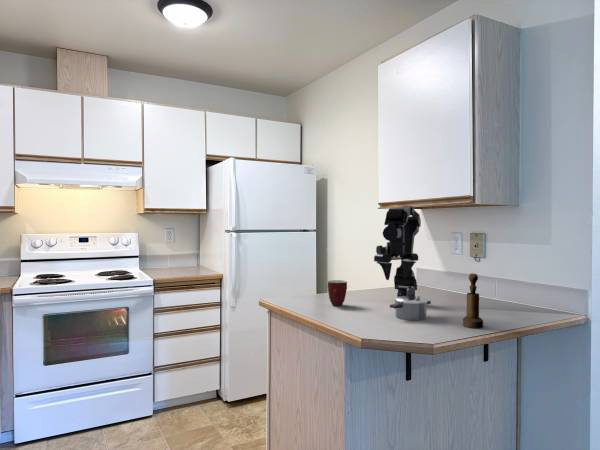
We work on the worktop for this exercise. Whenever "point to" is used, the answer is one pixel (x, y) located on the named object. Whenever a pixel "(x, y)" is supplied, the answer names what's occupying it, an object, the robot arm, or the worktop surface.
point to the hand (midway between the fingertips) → (396, 279)
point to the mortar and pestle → (473, 306)
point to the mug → (337, 291)
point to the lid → (411, 297)
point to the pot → (410, 311)
